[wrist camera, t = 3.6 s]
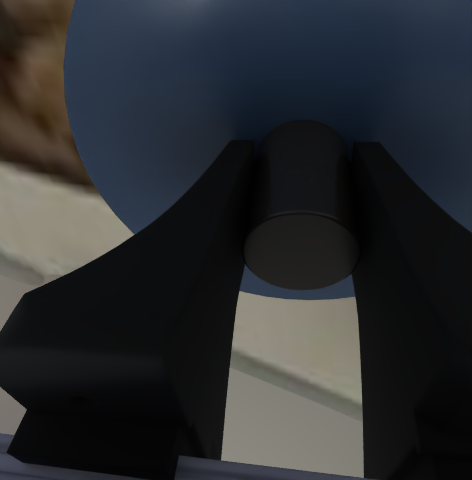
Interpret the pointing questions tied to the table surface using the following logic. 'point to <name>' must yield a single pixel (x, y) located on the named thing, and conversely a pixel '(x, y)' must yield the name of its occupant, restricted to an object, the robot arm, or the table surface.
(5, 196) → the table surface
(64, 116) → the table surface
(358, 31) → the pot lid
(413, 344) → the robot arm
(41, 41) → the table surface
